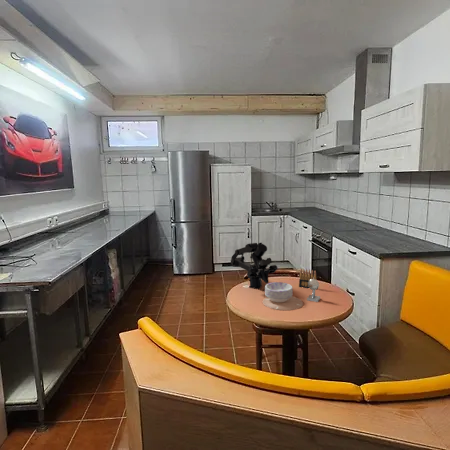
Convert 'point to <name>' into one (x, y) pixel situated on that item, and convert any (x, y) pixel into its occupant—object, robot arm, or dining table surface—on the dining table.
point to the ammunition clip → (306, 278)
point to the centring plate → (284, 304)
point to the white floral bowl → (278, 291)
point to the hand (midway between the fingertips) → (267, 283)
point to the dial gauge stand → (313, 290)
